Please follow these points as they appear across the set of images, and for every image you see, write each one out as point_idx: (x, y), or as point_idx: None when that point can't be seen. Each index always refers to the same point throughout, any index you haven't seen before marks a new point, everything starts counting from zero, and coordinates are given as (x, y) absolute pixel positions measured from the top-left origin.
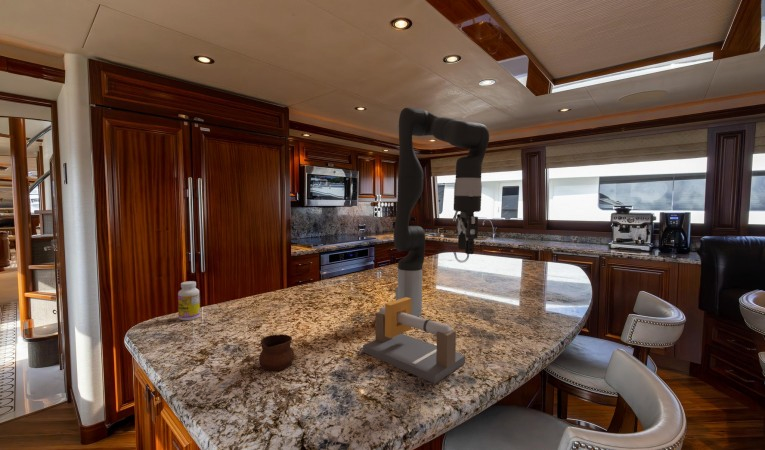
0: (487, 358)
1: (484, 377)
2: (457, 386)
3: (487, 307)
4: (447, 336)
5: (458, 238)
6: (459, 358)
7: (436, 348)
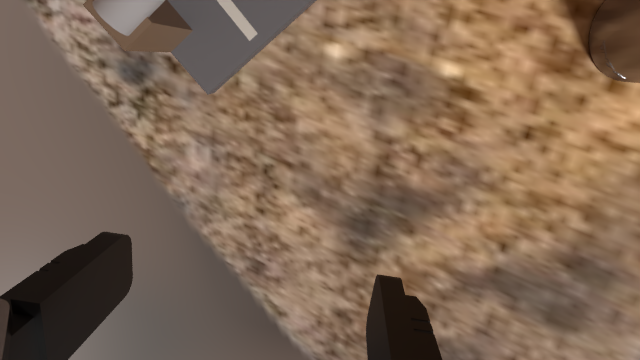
0: (237, 160)
1: (145, 110)
2: (104, 29)
3: (597, 327)
4: (85, 5)
5: (402, 343)
6: (192, 72)
7: (257, 25)
